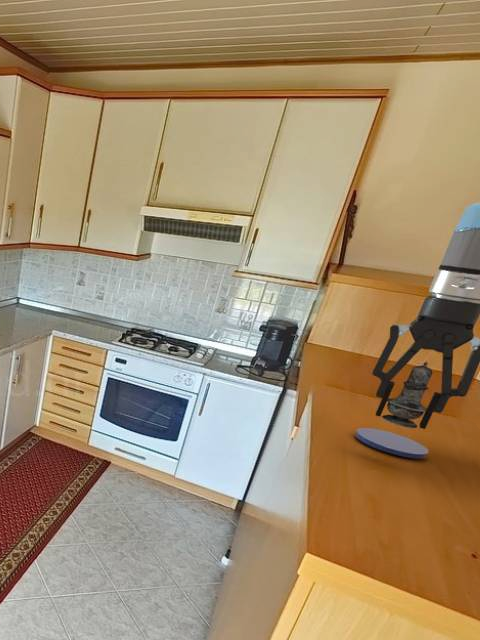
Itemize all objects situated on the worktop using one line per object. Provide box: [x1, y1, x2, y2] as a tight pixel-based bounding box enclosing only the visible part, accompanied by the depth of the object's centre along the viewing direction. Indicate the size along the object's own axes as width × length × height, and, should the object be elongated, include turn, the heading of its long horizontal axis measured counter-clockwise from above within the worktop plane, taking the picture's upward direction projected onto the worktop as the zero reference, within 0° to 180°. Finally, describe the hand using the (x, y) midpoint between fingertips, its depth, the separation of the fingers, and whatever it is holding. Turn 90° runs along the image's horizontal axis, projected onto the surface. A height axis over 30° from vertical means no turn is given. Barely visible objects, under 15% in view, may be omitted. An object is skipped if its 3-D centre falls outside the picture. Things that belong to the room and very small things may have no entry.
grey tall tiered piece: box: [381, 361, 433, 429], centre depth 90 cm, size 6×6×12 cm
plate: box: [355, 427, 430, 460], centre depth 103 cm, size 12×12×2 cm
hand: (399, 420), depth 92 cm, fingers closed on grey tall tiered piece, 6 cm apart
